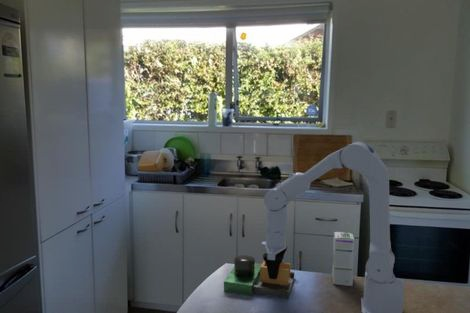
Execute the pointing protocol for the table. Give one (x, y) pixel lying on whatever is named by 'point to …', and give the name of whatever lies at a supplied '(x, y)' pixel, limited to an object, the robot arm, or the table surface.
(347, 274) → the syrup box
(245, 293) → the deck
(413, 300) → the table surface
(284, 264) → the tan arch block
